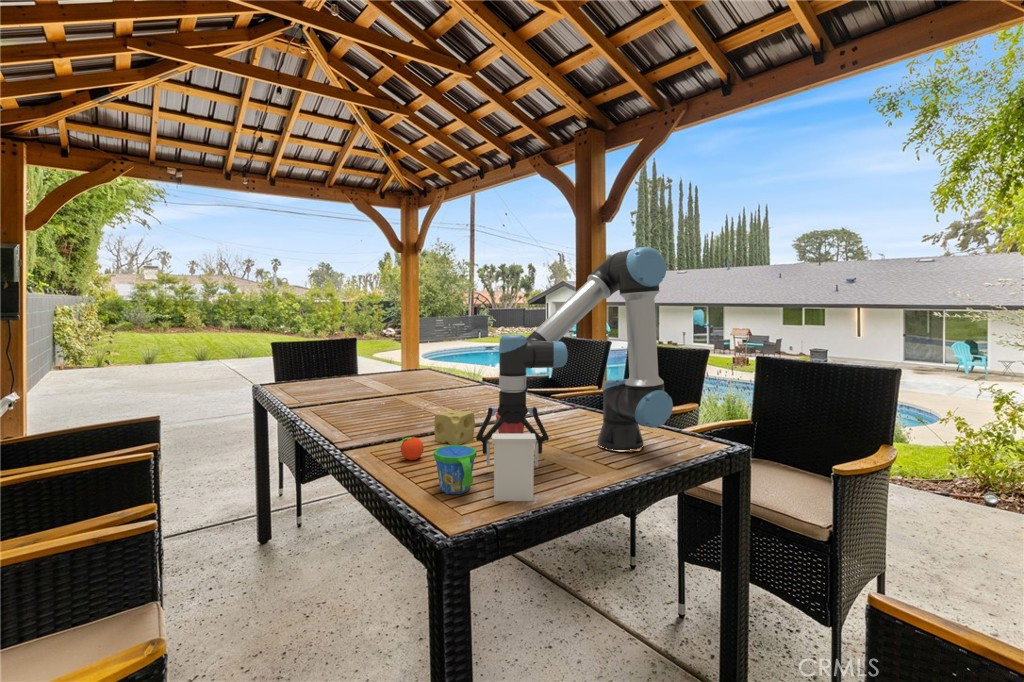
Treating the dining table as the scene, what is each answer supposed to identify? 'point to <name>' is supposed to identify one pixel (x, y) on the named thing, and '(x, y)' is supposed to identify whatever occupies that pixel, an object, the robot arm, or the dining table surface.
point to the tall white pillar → (513, 466)
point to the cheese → (454, 427)
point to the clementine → (411, 448)
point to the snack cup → (455, 468)
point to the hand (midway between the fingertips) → (512, 465)
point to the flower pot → (510, 427)
